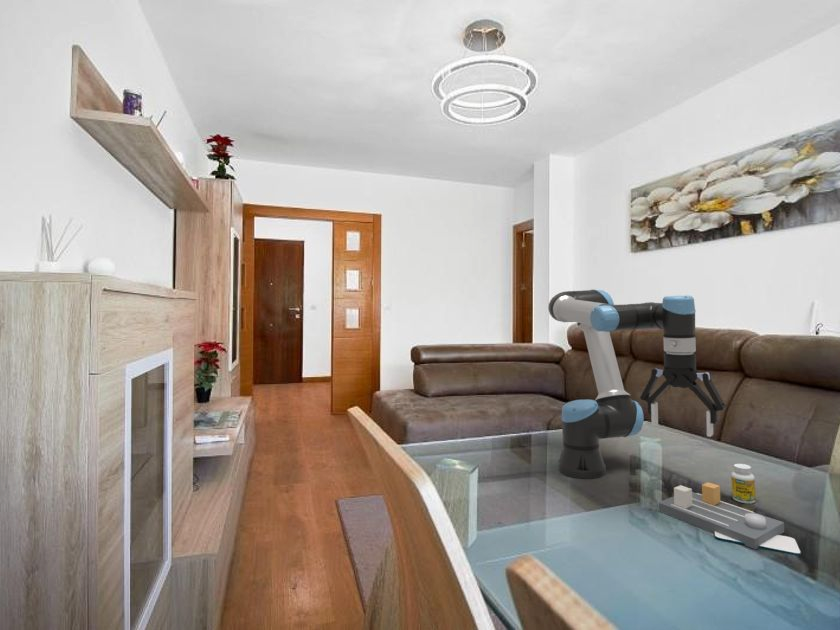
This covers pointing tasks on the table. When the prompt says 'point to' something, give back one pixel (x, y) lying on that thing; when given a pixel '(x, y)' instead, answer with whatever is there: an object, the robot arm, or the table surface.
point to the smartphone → (769, 543)
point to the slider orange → (711, 493)
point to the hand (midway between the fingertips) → (681, 430)
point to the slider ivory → (683, 497)
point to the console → (725, 520)
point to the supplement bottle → (743, 484)
